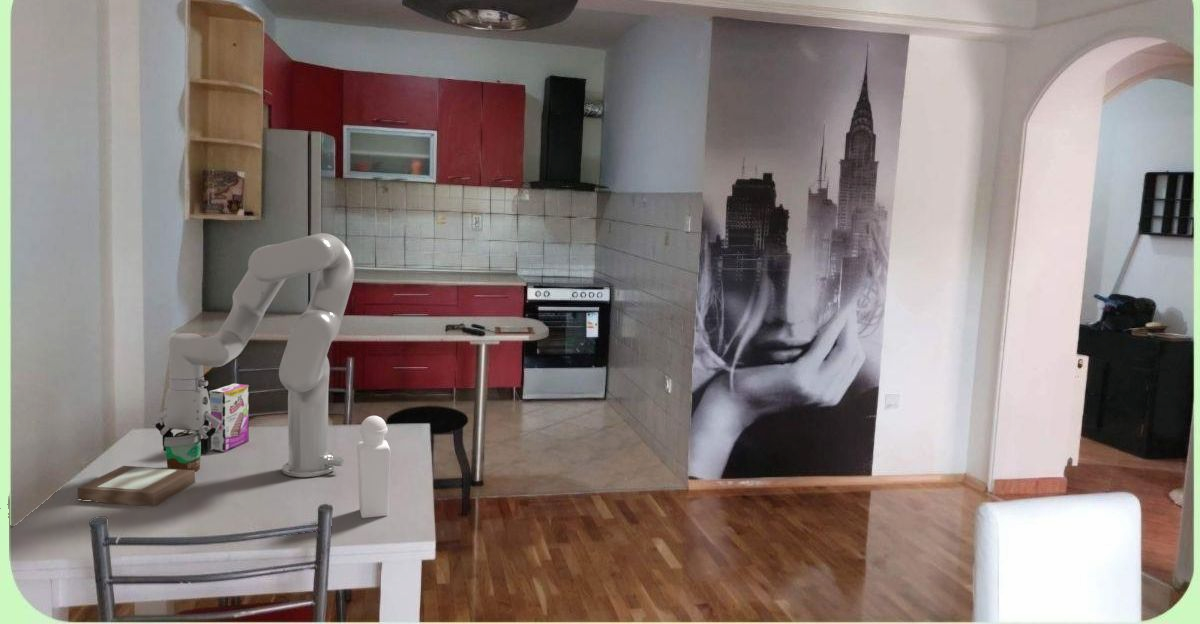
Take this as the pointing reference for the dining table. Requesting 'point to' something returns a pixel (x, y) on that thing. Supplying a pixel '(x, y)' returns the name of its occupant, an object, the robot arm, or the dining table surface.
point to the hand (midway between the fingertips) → (186, 451)
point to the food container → (183, 450)
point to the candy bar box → (230, 416)
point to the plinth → (137, 485)
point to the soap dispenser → (373, 468)
